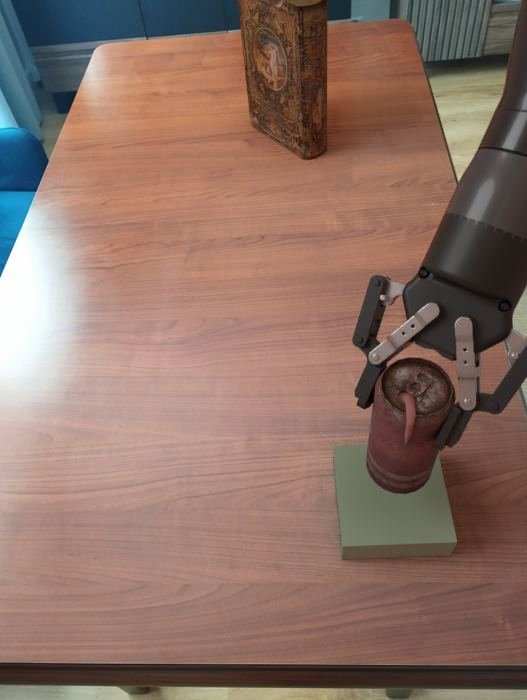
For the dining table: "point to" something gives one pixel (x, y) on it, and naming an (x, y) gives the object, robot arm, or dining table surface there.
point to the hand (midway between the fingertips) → (400, 425)
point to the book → (287, 71)
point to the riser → (389, 512)
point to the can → (407, 423)
